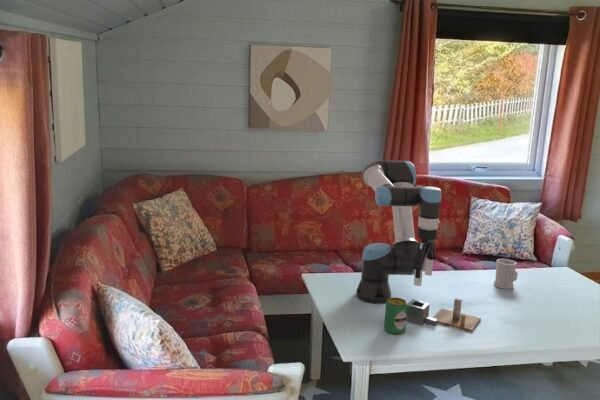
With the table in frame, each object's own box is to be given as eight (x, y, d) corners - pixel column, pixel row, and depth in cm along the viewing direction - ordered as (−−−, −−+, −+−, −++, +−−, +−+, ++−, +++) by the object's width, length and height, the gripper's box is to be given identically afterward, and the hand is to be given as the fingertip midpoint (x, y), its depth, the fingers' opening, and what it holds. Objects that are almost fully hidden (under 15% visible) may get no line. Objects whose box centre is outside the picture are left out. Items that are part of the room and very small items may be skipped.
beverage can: (391, 336, 202) (393, 306, 200) (379, 327, 209) (382, 298, 207) (409, 333, 205) (412, 303, 203) (397, 324, 212) (399, 295, 210)
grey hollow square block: (405, 321, 216) (406, 304, 214) (411, 315, 222) (412, 299, 220) (432, 329, 210) (434, 311, 208) (438, 322, 216) (440, 305, 214)
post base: (430, 321, 216) (433, 300, 214) (441, 310, 227) (443, 290, 225) (471, 332, 208) (474, 310, 206) (480, 320, 219) (482, 299, 217)
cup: (519, 286, 259) (522, 261, 256) (514, 291, 252) (518, 267, 249) (496, 281, 264) (499, 257, 262) (491, 286, 257) (494, 262, 254)
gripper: (427, 236, 197) (422, 292, 201) (446, 222, 218) (441, 272, 223) (407, 233, 200) (402, 287, 205) (428, 219, 221) (423, 269, 226)
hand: (422, 280), depth 214 cm, fingers open, 13 cm apart
